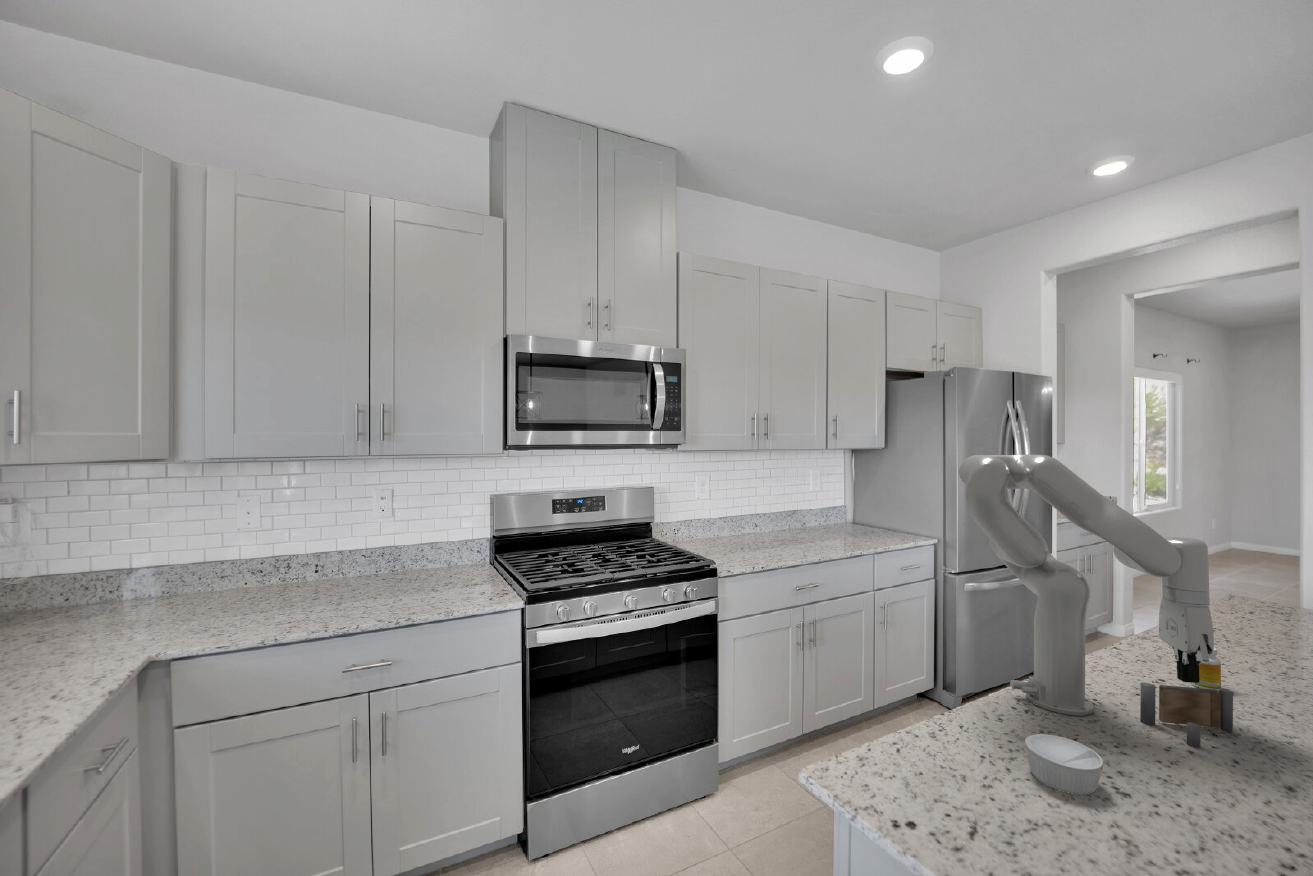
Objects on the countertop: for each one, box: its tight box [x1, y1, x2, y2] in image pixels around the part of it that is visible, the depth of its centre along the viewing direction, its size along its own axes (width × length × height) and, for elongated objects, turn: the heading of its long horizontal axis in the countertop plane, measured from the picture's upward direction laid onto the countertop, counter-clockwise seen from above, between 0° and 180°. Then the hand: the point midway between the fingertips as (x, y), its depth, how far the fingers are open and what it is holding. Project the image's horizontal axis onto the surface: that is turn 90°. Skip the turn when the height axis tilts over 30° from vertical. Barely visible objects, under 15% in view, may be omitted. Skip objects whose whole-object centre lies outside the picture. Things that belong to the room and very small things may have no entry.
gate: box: [1158, 684, 1221, 729], centre depth 120 cm, size 10×2×8 cm, turn 79°
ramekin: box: [1024, 733, 1104, 795], centre depth 100 cm, size 11×11×5 cm
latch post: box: [1218, 688, 1234, 733], centre depth 118 cm, size 2×2×8 cm
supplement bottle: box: [1190, 647, 1222, 692], centre depth 140 cm, size 5×5×10 cm
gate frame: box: [1139, 681, 1202, 749], centre depth 117 cm, size 2×11×8 cm, turn 7°
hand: (1188, 680), depth 123 cm, fingers closed
